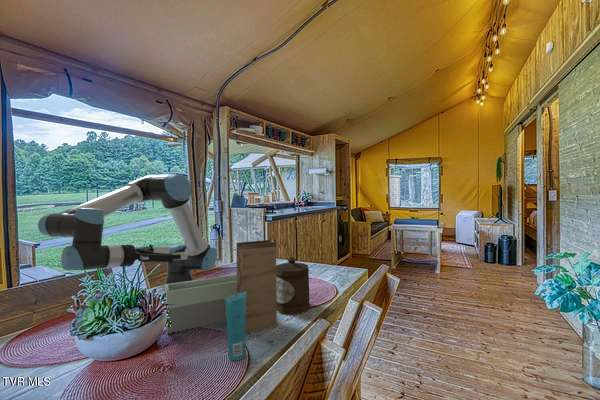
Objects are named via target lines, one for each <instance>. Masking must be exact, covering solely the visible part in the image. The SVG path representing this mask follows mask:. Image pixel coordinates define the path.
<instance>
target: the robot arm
mask: <svg viewBox="0 0 600 400" xmlns="http://www.w3.org/2000/svg"><path fill="white" fill-rule="evenodd" d="M191 190H192V185H191V182H190V180H189V179H188V178H187V177H186V176H185V175H182V174H180V173H179V174H176V173H169V174H168V173H167V174H166V173H165V174H149V175H146V176H143V177H140V178H138V179H137V178H136V180H132V181H130V182H127V183H126V184H124V186H123V187H121V188H119V189H117V190H114V191H112V192H109V193H107V194H104V195H101V196H98V197H96V198H95V199H91V200H90V201H87V202H84V203H81V204H80V205H79V204H78V205H76V206H74V207H71V208H68V209H65V210H64V211H61V212H58V213H56V212H55V213H53V212H52V213H48V214H45V215H43V216H42V217H41V218H40V219H39V221H38V222H37V228H38V231H39V232H40V233H41V234H42V235H44V236H48V237H53V238H57V237H58V238H63V237H64V238H72V244H71V245H67V246H65V247H64V248H63V249H62V250H61V251H62V252H61V256H60V263H61V268H62V269H63V270H64V271H71V272H72V271H87V270H98V269H99V270H100V269H107V270H111V268H119V267H121V268H123V267H132V266H133V265H134V263H135V262H136V261H138V262H142V263H149V262H151V263H157V262H158V263H166V271H167V272H166V274H167V275H166V278H165V281H164V283H163V291H164V292H165V284H172V283H179V282H186V281H193V280H194V277H193V274H192V270H195V271H203V272H204V271H210V270H212V269H213V268H214V266H215V264H216V262H217V259H218V252H217V249H216V248H215V247H214V246H213V247H211V246H210V244H209V242H208V241H207V240H205V239H204V238H203V236H202V233H201V230H200V228H199V227H198V223H197V221H196V219H195V217H194V214H193V212H192V209H191V207H190V205H189V201H190V197H191V196H192V191H191ZM147 201H160V202H161V204H162V206H163V208H164V209H165V210H169V212H170V214H171V217H172V219H173V221H174V223H175V225H176V228H177V229H178V231H179V234H180V236H181V238H182V240H183V242H184V243H178V244H174V245H170V246H154V245H152V244H150V245H149V246H148V245H147V246H139V247H135V246H134V245H133V244H121V245H120V244H106V245H103V244H102V241H103V240H102V239H103V233H104V232H103V231H104V223H105V220H104V218H105V217H108V216H110V215H112V214H115V213H117V212H118V211H121V210H123V209H124V208H126V207H129V206H130V205H133V204H134V205H138V204H141V203H144V202H147ZM148 248H149V249H148Z"/></svg>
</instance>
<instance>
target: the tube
mask: <svg viewBox="0 0 600 400" xmlns="http://www.w3.org/2000/svg"><path fill="white" fill-rule="evenodd" d="M225 306H226V317H227V321H226V329H227V343H228V344H227V345H228V358H229V360H231V361H240V360H242V359H245V356H246V334H245V317H246V291H245V292H241V293H238V294H234V295H230V296H227V297H225Z"/></svg>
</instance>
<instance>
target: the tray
mask: <svg viewBox="0 0 600 400" xmlns="http://www.w3.org/2000/svg"><path fill="white" fill-rule="evenodd" d="M165 293H166V297H165V296H164V300H165V299H166V302H167V303H168V304H175V305H168V306H167V307H168V308H169V312H168V315H170V318H168V320H169V321H173V324H172V326H171V327H170V328H169V327H168V326H167V329H166V333H167V335H168V333H170V334H173V333H172V332H175V333H177V331H179V332H183V331H182V330H184V331H187V330H186V329H188V330H193V329H197V328H201V327H206V326H210V325H214V324H220V323H224V322H227V317H226V306H225V297H227V296H230V295H234V294H237V273H236V274H230V275H228V274H227V275H221V276H213V277H208V278H201V279H195V280H193V281H186V282H179V283H172V284H165V291H164V294H165ZM192 328H193V329H192Z"/></svg>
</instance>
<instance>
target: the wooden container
mask: <svg viewBox="0 0 600 400" xmlns="http://www.w3.org/2000/svg"><path fill="white" fill-rule="evenodd" d="M296 261H297V260H296V258H295V257H291V256H290V257H289V258H288V259H287V262H283V263H279V264H276V289H277V313H280V314H283V315H290V316H291V315H301V314H304V313H306V312H308V311H309V310H310V279H309V278H310V276H309V274H310V273H309V272H310V271H309V269H310V268H309V265H308V264H306V263H301V262H296Z"/></svg>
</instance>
